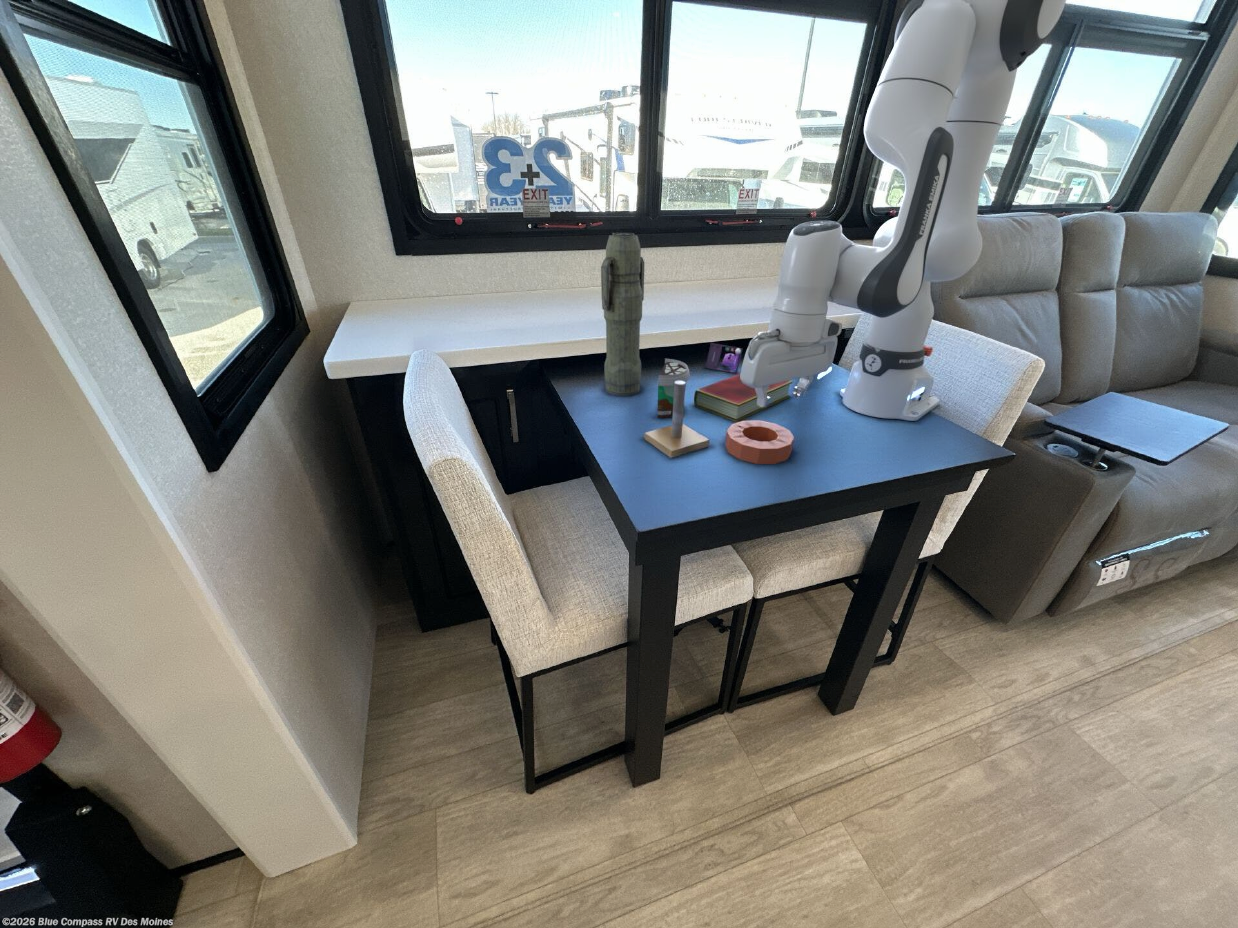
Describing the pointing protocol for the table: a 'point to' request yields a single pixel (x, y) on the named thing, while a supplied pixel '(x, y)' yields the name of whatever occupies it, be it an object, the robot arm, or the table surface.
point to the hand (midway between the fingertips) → (780, 401)
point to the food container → (670, 385)
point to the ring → (748, 448)
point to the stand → (677, 430)
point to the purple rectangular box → (728, 359)
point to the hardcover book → (736, 398)
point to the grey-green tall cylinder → (622, 312)
